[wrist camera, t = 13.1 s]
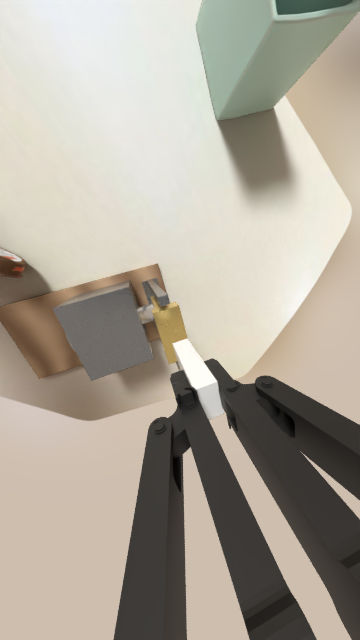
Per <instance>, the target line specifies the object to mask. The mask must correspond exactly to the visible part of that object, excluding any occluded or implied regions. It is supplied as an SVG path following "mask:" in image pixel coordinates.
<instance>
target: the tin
mask: <svg viewBox="0 0 360 640" xmlns="http://www.w3.org/2000/svg"><path fill="white" fill-rule="evenodd" d="M25 266H26V261H25V260H24V259H22V258H21V257H19V256H17V255H15V254H13V253H11V252H9V251H7V250H4V249H2V248H0V275H1V276H6V277H12V278H21V277H22V276H23V275H22V274H23V271H24V269H25Z"/></svg>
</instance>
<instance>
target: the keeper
mask: <svg viewBox="0 0 360 640" xmlns="http://www.w3.org/2000/svg"><path fill="white" fill-rule="evenodd" d="M150 298H151V301H152V304H153V306H154V309H151V310H152V313H153V316H154V319H155V322H156V326H157V329H158V332H159V335H160V338H161V341H162V344H163V347H164V350H165V353H166V356H167V359H168V362H169V364H171V363H174V362H177V357H176V354H175V351H174V347H173V344H172V343H175V342H178V341H181V340H184V339H187V335H186V331H185V327H184V323H183V319H182V316H181V312H180V308H179V305H178V304H177V303H176V302H173V303H171V302H170V301H169V302H170V304H168V305H165V306H160V304H159V303H158V301H157V299H156V298H155V296H152V297H150Z"/></svg>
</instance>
